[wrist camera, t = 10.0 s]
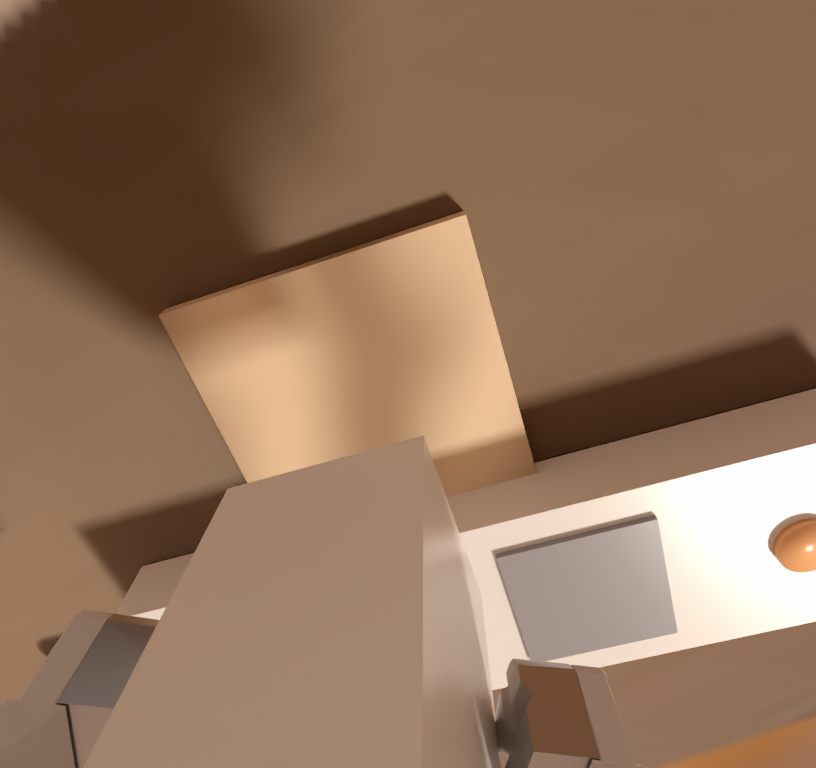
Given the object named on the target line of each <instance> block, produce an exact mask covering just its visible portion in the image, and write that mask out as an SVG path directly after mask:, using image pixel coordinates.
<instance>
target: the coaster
mask: <svg viewBox="0 0 816 768" xmlns="http://www.w3.org/2000/svg"><path fill="white" fill-rule="evenodd" d="M158 316H159V318H160V320H161V322H162V324H163V326H164V328H165V329H166V331H167V333H168V335H169V337H170V339H171V341H172V343H173V344H174V346H175V348H176V350H177V352H178V354H179V356H180V358H181V359H182V361H183V363H184V365H185V367H186V369H187V371H188V373H189V374H190V376H191V378H192V380H193V382H194V384H195V386H196V388H197V389H198V391H199V393H200V395H201V397H202V399H203V401H204V403H205V404H206V406H207V408H208V410H209V412H210V414H211V416H212V418H213V419H214V421H215V423H216V425H217V427H218V429H219V431H220V433H221V434H222V436H223V438H224V440H225V442H226V444H227V446H228V448H229V449H230V451H231V453H232V455H233V457H234V459H235V461H236V463H237V464H238V466H239V468H240V470H241V472H242V474H243V476H244V478H245V479H246V481H247V483H250V482H254V481H257V480H261V479H265V478H268V477H272V476H276V475H279V474H283V473H287V472H291V471H294V470H298V469H302V468H305V467H309V466H313V465H316V464H320V463H324V462H327V461H331V460H335V459H338V458H342V457H346V456H349V455H353V454H357V453H360V452H364V451H368V450H371V449H375V448H379V447H383V446H386V445H390V444H394V443H397V442H401V441H405V440H408V439H412V438H416V437H419V436H423V435H424V438H425V441H426V443H427V446H428V449H429V452H430V454H431V457H432V460H433V463H434V465H435V468H436V471H437V474H438V476H439V479H440V482H441V485H442V487H443V490H444V493H445V495H446V497H449V496H452V495H456V494H460V493H464V492H468V491H472V490H475V489H479V488H483V487H487V486H491V485H495V484H498V483H502V482H506V481H510V480H514V479H517V478H521V477H525V476H529V475H533V474H537V472H536V468H535V464H534V461H533V457H532V453H531V450H530V446H529V443H528V439H527V435H526V432H525V428H524V424H523V421H522V417H521V413H520V410H519V406H518V402H517V399H516V395H515V392H514V388H513V384H512V381H511V377H510V373H509V370H508V366H507V362H506V359H505V355H504V352H503V348H502V344H501V341H500V337H499V333H498V330H497V326H496V322H495V319H494V315H493V311H492V308H491V304H490V301H489V297H488V293H487V290H486V286H485V282H484V279H483V275H482V271H481V268H480V264H479V260H478V257H477V253H476V250H475V246H474V242H473V239H472V235H471V231H470V228H469V224H468V220H467V217H466V214H465V212H464V211H462V212H459V213H456V214H453V215H449V216H446V217H443V218H440V219H437V220H434V221H431V222H428V223H425V224H422V225H419V226H416V227H413V228H410V229H407V230H404V231H401V232H398V233H395V234H392V235H389V236H386V237H383V238H380V239H377V240H373V241H370V242H367V243H364V244H361V245H358V246H355V247H352V248H349V249H346V250H343V251H340V252H337V253H334V254H331V255H328V256H325V257H322V258H319V259H316V260H313V261H310V262H307V263H304V264H301V265H297V266H294V267H291V268H288V269H285V270H282V271H279V272H276V273H273V274H270V275H267V276H264V277H261V278H258V279H255V280H252V281H249V282H246V283H243V284H240V285H237V286H234V287H231V288H228V289H225V290H221V291H218V292H215V293H212V294H209V295H206V296H203V297H200V298H197V299H194V300H191V301H188V302H185V303H182V304H179V305H176V306H173V307H170V308H167V309H165V310H164V311H163V312H162V313H160V314H159V315H158Z"/></svg>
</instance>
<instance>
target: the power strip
mask: <svg viewBox="0 0 816 768" xmlns="http://www.w3.org/2000/svg"><path fill="white" fill-rule="evenodd" d="M534 464H535V468H536V472H537V474H533V475H529V476H525V477H521V478H517V479H514V480H510V481H506V482H502V483H498V484H495V485H491V486H487V487H483V488H479V489H475V490H472V491H468V492H464V493H460V494H456V495H452V496H449V497H446V498H447V501H448V504H449V506H450V509H451V512H452V515H453V517H454V520H455V523H456V526H457V528H458V531H459V534H460V537H461V539H462V542H463V545H464V548H465V550H466V553H467V556H468V558H469V561H470V564H471V567H472V569H473V572H474V575H475V578H476V580H477V583H478V586H479V589H480V591H481V598H482V607H483V615H484V624H485V633H486V641H487V650H488V659H489V667H490V676H491V685H492V690H495V689H500V688H505V687H507V686H508V682H507V676H506V672H507V669H508V666H509V663H510V662H511V660H512V659H513V658H514V659H524V660H535V661H545V662H555V663H566V664H569V665H579V666H588V667H597V668H599V667H604V666H608V665H613V664H618V663H622V662H627V661H632V660H636V659H641V658H646V657H651V656H655V655H660V654H665V653H669V652H674V651H679V650H683V649H688V648H693V647H698V646H702V645H707V644H712V643H716V642H721V641H726V640H730V639H735V638H740V637H744V636H749V635H754V634H759V633H763V632H768V631H773V630H777V629H782V628H787V627H791V626H796V625H801V624H806V623H810V622H815V621H816V388H815V389H812V390H808V391H804V392H800V393H797V394H793V395H789V396H785V397H781V398H778V399H774V400H770V401H766V402H763V403H759V404H755V405H751V406H747V407H744V408H740V409H736V410H732V411H728V412H725V413H721V414H717V415H713V416H710V417H706V418H702V419H698V420H694V421H691V422H687V423H683V424H679V425H675V426H672V427H668V428H664V429H660V430H657V431H653V432H649V433H645V434H641V435H638V436H634V437H630V438H626V439H622V440H619V441H615V442H611V443H607V444H604V445H600V446H596V447H592V448H588V449H585V450H581V451H577V452H573V453H569V454H566V455H562V456H558V457H554V458H551V459H547V460H543V461H539V462H535V463H534ZM193 554H194V553H191V554H187V555H183V556H180V557H176V558H172V559H168V560H165V561H161V562H157V563H153V564H149V565H146V566H142V568H141V569H140V571H139V573H138V575H137V576H136V578H135V580H134V582H133V583H132V585H131V587H130V588H129V590H128V592H127V594H126V595H125V597H124V599H123V601H122V602H121V604H120V606H119V608H118V609H117V611H116V613H115V614H120V615H127V616H135V617H142V618H149V619H156V620H160V618H161V616H162V614H163V612H164V611H165V609H166V607H167V605H168V603H169V601H170V599H171V597H172V595H173V593H174V591H175V589H176V587H177V585H178V583H179V582H180V580H181V578H182V576H183V574H184V572H185V570H186V568H187V566H188V564H189V562H190V560H191V558H192V556H193Z"/></svg>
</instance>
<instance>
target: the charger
mask: <svg viewBox="0 0 816 768" xmlns="http://www.w3.org/2000/svg"><path fill="white" fill-rule="evenodd" d="M495 721H496V719H495V710H494V702H493V693H492V685H491V676H490V667H489V659H488V650H487V641H486V633H485V624H484V615H483V607H482V598H481V591H480V589H479V586H478V583H477V580H476V578H475V575H474V572H473V569H472V567H471V564H470V561H469V558H468V556H467V553H466V550H465V548H464V545H463V542H462V539H461V537H460V534H459V531H458V528H457V526H456V523H455V520H454V517H453V515H452V512H451V509H450V506H449V504H448V501H447V498H446V495H445V493H444V490H443V487H442V485H441V482H440V479H439V476H438V474H437V471H436V468H435V465H434V463H433V460H432V457H431V454H430V452H429V449H428V446H427V443H426V441H425V438H424V435H423V436H419V437H416V438H412V439H408V440H405V441H401V442H397V443H394V444H390V445H386V446H383V447H379V448H375V449H371V450H368V451H364V452H360V453H357V454H353V455H349V456H346V457H342V458H338V459H335V460H331V461H327V462H324V463H320V464H316V465H313V466H309V467H305V468H302V469H298V470H294V471H291V472H287V473H283V474H279V475H276V476H272V477H268V478H265V479H261V480H257V481H254V482H250V483H246V484H243V485H239V486H235V487H232V488H228V489H227V491H226V493H225V495H224V497H223V498H222V500H221V502H220V504H219V506H218V508H217V510H216V512H215V514H214V516H213V518H212V520H211V522H210V524H209V525H208V527H207V529H206V531H205V533H204V535H203V537H202V539H201V541H200V543H199V545H198V547H197V549H196V551H195V553H194V554H193V556H192V558H191V560H190V562H189V564H188V566H187V568H186V570H185V572H184V574H183V576H182V578H181V580H180V582H179V583H178V585H177V587H176V589H175V591H174V593H173V595H172V597H171V599H170V601H169V603H168V605H167V607H166V609H165V611H164V612H163V614H162V616H161V618H160V620H159V622H158V624H157V626H156V628H155V630H154V632H153V634H152V636H151V638H150V640H149V641H148V643H147V645H146V647H145V649H144V651H143V653H142V655H141V657H140V659H139V661H138V663H137V665H136V667H135V668H134V670H133V672H132V674H131V676H130V678H129V680H128V682H127V684H126V686H125V688H124V690H123V692H122V694H121V696H120V697H119V699H118V701H117V703H116V705H115V707H114V709H113V711H112V713H111V715H110V717H109V719H108V721H107V723H106V725H105V726H104V728H103V730H102V732H101V734H100V736H99V738H98V740H97V742H96V744H95V746H94V748H93V750H92V752H91V754H90V755H89V757H88V759H87V761H86V763H85V765H84V767H83V768H501V762H500V754H499V748H498V740H497V731H496V723H495Z"/></svg>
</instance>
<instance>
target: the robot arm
mask: <svg viewBox="0 0 816 768" xmlns="http://www.w3.org/2000/svg"><path fill="white" fill-rule="evenodd" d="M158 622H159V620H156V619H149V618H142V617H135V616H127V615H120V614H111V613H103V612H95V611H87V610H82V611H81V612H80V613H79V614H77V615H76V616H75V617H74V618H73V619H72V620H71V622H70V623H69V625H68V626H67V628H66V629H65V631H64V632H63V634H62V635H61V637H60V638H59V640H58V641H57V643H56V644H55V646H54V647H53V649H52V650H51V651H50V653H49V654H48V656H47V657H46V659H45V660H44V662H43V663H42V665H41V666H40V668H39V669H38V671H37V672H36V674H35V675H34V677H33V678H32V680H31V681H30V683H29V684H28V686H27V687H26V689H25V690H24V692H23V693H22V694H21V696H20V697H19V699H18V700H6V701H5V702H3V703H1V704H0V768H83V767H84V765H85V763H86V761H87V759H88V757H89V755H90V754H91V752H92V750H93V748H94V746H95V744H96V742H97V740H98V738H99V736H100V734H101V732H102V730H103V728H104V726H105V725H106V723H107V721H108V719H109V717H110V715H111V713H112V711H113V709H114V707H115V705H116V703H117V701H118V699H119V697H120V696H121V694H122V692H123V690H124V688H125V686H126V684H127V682H128V680H129V678H130V676H131V674H132V672H133V670H134V668H135V667H136V665H137V663H138V661H139V659H140V657H141V655H142V653H143V651H144V649H145V647H146V645H147V643H148V641H149V640H150V638H151V636H152V634H153V632H154V630H155V628H156V626H157V624H158ZM506 676H507V682H508V686H507V687H506V688H505V689H503V690H502V691H501V692H500V695H499V699H498V703H497V710H496V721H495V723H496V731H497V740H498V748H499V754H500V756H501V757H502V758H503V760H504V761H505V762H506V767H505V768H647V767H646V766H645V765H638V764H636V763H635V760H634V757H633V754H632V751H631V748H630V745H629V742H628V740H627V737H626V734H625V731H624V728H623V725H622V722H621V719H620V716H619V713H618V710H617V707H616V704H615V701H614V698H613V695H612V693H611V690H610V687H609V684H608V681H607V678H606V675H605V673H604V672H603V670H602V669H601V668H597V667H588V666H579V665H569V664H566V663H555V662H545V661H535V660H524V659H514V658H513V659H512V660H511V662H510V663H509V666H508V669H507V672H506Z"/></svg>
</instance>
